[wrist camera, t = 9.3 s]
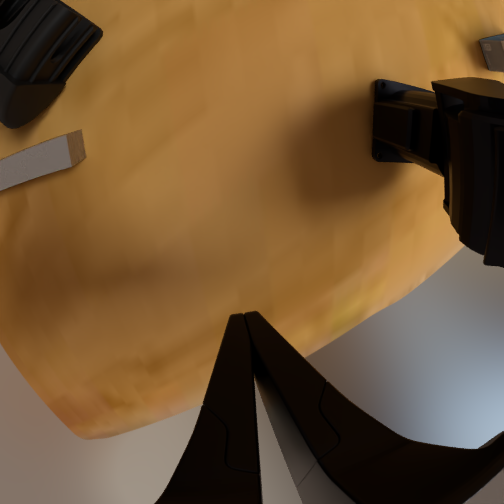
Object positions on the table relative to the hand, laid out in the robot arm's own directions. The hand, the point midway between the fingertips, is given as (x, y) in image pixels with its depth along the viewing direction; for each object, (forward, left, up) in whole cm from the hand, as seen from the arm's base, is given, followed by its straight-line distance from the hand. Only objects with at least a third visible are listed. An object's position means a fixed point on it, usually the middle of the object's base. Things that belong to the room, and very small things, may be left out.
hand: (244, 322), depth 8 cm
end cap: (+12, -13, -12) cm, 22 cm away
